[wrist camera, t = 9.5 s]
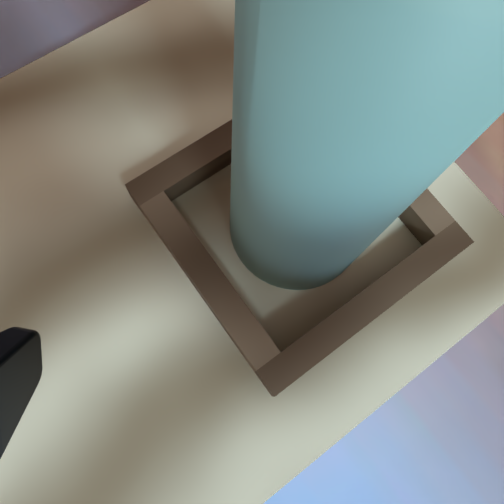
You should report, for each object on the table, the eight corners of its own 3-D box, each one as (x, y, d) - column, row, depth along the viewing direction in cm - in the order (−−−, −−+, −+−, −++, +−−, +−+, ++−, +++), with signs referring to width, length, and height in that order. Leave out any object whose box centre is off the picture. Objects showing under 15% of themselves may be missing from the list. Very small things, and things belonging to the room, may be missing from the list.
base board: (525, 275, 19) (571, 257, 17) (22, 688, 15) (-23, 753, 12) (255, -28, 23) (258, -81, 20) (-212, 222, 18) (-285, 195, 16)
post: (376, 273, 17) (760, -21, 5) (247, 304, 17) (310, 60, 4) (337, 156, 19) (561, -311, 6) (216, 180, 18) (196, -280, 6)
